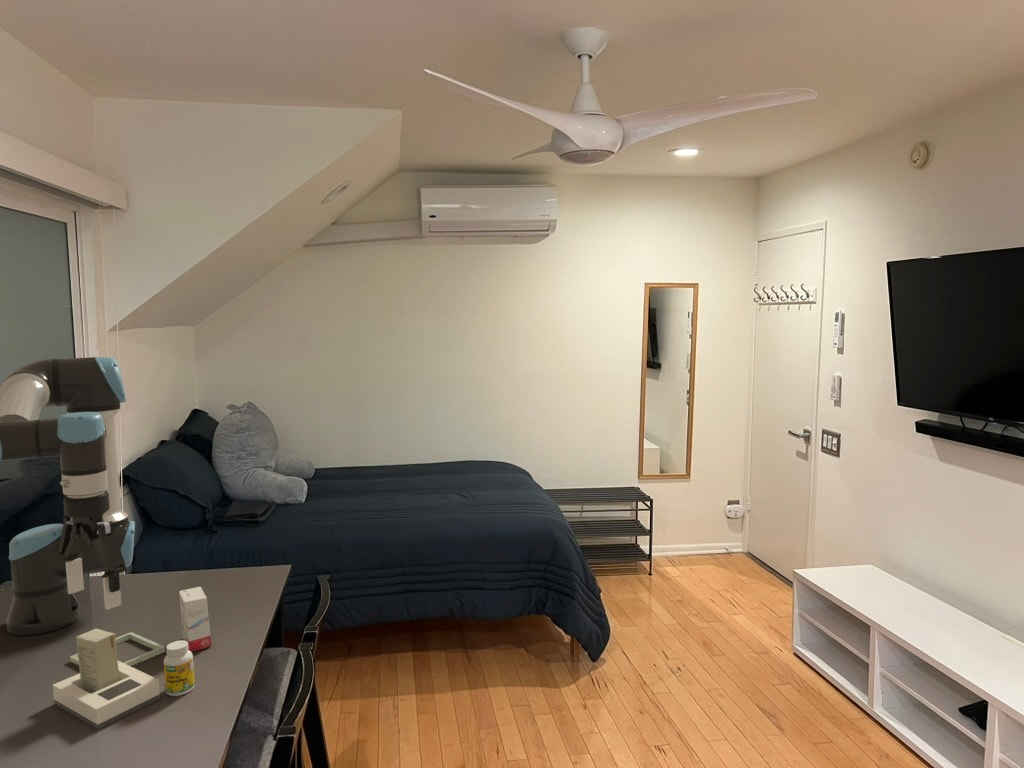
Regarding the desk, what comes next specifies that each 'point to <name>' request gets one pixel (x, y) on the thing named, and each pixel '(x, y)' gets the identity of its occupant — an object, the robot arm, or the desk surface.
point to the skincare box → (97, 660)
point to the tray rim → (155, 646)
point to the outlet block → (107, 697)
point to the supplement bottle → (178, 669)
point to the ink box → (195, 618)
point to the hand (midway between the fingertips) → (94, 599)
